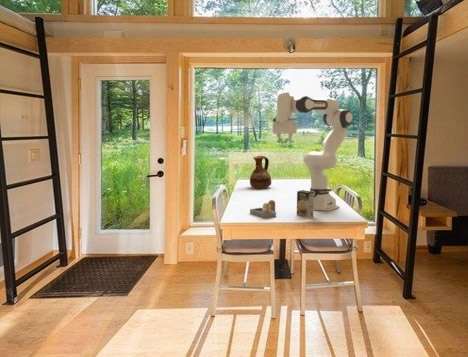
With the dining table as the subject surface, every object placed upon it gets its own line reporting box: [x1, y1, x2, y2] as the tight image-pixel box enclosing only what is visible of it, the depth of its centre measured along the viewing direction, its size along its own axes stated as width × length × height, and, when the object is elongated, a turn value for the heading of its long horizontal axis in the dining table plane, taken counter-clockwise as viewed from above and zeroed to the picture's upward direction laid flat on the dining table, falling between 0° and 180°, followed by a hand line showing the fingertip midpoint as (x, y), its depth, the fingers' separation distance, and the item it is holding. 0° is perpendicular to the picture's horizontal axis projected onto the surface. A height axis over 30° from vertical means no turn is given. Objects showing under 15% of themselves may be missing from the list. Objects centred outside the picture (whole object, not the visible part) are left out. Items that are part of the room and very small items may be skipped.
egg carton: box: [249, 207, 277, 219], centre depth 230 cm, size 8×16×4 cm, turn 32°
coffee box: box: [296, 189, 314, 218], centre depth 228 cm, size 9×6×16 cm
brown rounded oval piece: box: [267, 199, 276, 212], centre depth 240 cm, size 5×5×8 cm
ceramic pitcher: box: [249, 155, 272, 189], centre depth 335 cm, size 20×20×30 cm
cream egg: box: [262, 202, 270, 214], centre depth 226 cm, size 5×5×8 cm
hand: (284, 140), depth 229 cm, fingers open, 8 cm apart
